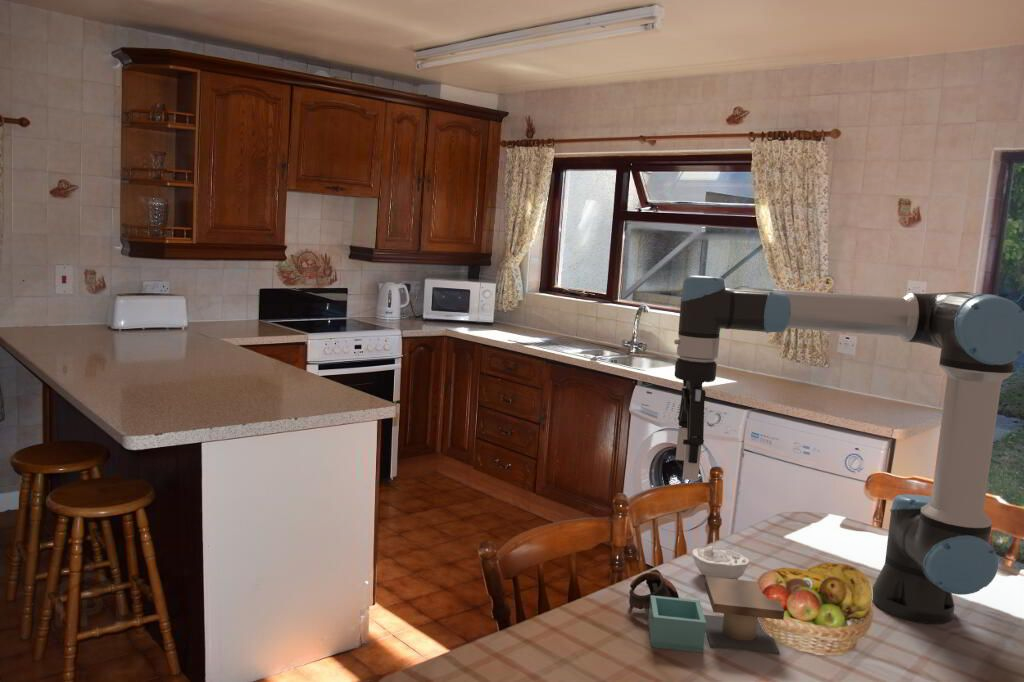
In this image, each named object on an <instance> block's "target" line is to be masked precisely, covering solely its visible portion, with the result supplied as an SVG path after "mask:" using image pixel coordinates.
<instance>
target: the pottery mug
mask: <svg viewBox="0 0 1024 682" xmlns="http://www.w3.org/2000/svg"><path fill="white" fill-rule="evenodd" d="M644 582H645V583H646V585H647V587H648V590H649V594H643V595H639V594H637V593H635V590H636V589H637V587H638V586H639V585H640V584H642V583H644ZM629 587H630V590H629V597H628V598H629V599H628V603H629V607H630V609H634V608H635V609H638V610H643V609H644V610H647V609H649V606H650V595H653V596H662V597H672V598H680V597H679V593H678V591H677V588H676V587H675V585H674V584H673V583H672V582H671V581H670V580H669V579H667V578H666V577H664V576H663V575H662V573H661V572H660V571H659V570H658V569H652V570H650V571H649V572H648V571H647V572H644V573H642V574H640V575H638V576H637V577H635V578H634V579H633V580H632V581H631V583H630V584H629Z"/></svg>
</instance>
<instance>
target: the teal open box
mask: <svg viewBox="0 0 1024 682" xmlns="http://www.w3.org/2000/svg"><path fill="white" fill-rule="evenodd" d="M648 609H649V610H648V617H647V618H648V619H647V620H648V621H647V626H648V627H647V628H648V634H649V641H650V642H649V643H650V647H651V648H656V649H665V650H677V651H684V652H693V653H702V654H703V653H704V648H705V637H706V630H705V629H706V621H705V617H704V615H705V613H704V611H703V608H702V603H701V601H700V600H699V599H698V600H697V599H689V598H681V597H679V598H672V597H662V596H653V595H650V606H649V608H648Z"/></svg>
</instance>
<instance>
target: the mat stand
mask: <svg viewBox="0 0 1024 682" xmlns="http://www.w3.org/2000/svg"><path fill="white" fill-rule="evenodd" d="M704 617H705V621H706V629H705V635H706V637H707V640H708V641H707V642H708V644H709V647H710V648H718V649H727V650H728V649H729V650H737V651H744V652H754V653H762V654H764V653H765V654H771V655H780V654H781V652H780V650H779V648H778V645H777V643H776V639H774V637H773V638H772V637H770V636H769V635H767V634H766V633H765V632H764V631H763V629H762V627H761V625H760V623H759V621H760V620H759V617H752V616H743V615H733V614H724V613H723V616H720V615H711V614H710V615H709V614H704ZM758 620H759V621H758Z"/></svg>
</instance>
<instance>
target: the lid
mask: <svg viewBox="0 0 1024 682" xmlns="http://www.w3.org/2000/svg"><path fill="white" fill-rule="evenodd" d="M704 576H705V575H704ZM758 582H759V581H753V580H745V579H726V578H716V577H706V576H705V579H704V587H705V590H706V594H707V597H708V599H709V603H710V607H711V609H712V612H713V613H717V614H723V615H724V614H733V615H743V616H752V617H758V618H764V619H774V620H782V621H784V618H785V617H784V616H785V610H784V607H783V606H782V604H781V602H780V601H779V602H777V601H774V600H771V599H768V598H767V597H766V596H765V595H764V594H763V593H762V591H761V589H760V588H759V584H758Z"/></svg>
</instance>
